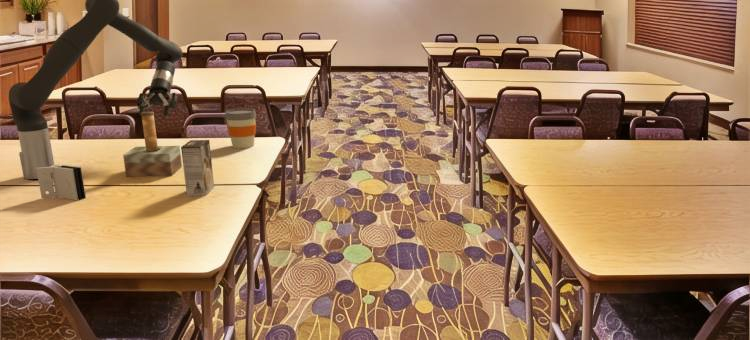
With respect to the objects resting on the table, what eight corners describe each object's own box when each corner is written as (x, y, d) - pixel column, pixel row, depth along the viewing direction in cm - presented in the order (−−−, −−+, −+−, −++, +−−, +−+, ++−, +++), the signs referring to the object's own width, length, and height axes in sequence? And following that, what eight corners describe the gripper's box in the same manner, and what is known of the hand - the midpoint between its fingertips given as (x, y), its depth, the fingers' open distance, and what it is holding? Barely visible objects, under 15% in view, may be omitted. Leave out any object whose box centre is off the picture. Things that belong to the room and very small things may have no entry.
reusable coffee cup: (262, 142, 252) (259, 108, 248) (253, 149, 240) (250, 113, 235) (233, 142, 253) (231, 108, 249) (223, 149, 241) (220, 113, 237)
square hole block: (126, 176, 204) (123, 154, 202) (138, 167, 216) (135, 146, 213) (171, 175, 205) (169, 153, 202) (181, 166, 216) (179, 145, 214)
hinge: (40, 199, 182) (35, 168, 179) (52, 193, 187) (47, 163, 184) (80, 200, 180) (75, 169, 177) (91, 195, 185) (86, 164, 182)
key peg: (144, 159, 207) (138, 113, 202) (149, 156, 211) (143, 111, 206) (157, 159, 207) (151, 113, 202) (161, 156, 211) (155, 111, 206)
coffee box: (195, 187, 191) (190, 139, 187) (214, 187, 191) (210, 139, 187) (186, 196, 182) (180, 146, 178) (206, 195, 182) (201, 146, 178)
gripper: (140, 77, 224) (130, 109, 214) (177, 76, 224) (169, 108, 214) (146, 91, 230) (137, 122, 220) (182, 90, 230) (175, 121, 220)
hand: (153, 115), depth 217 cm, fingers open, 8 cm apart
